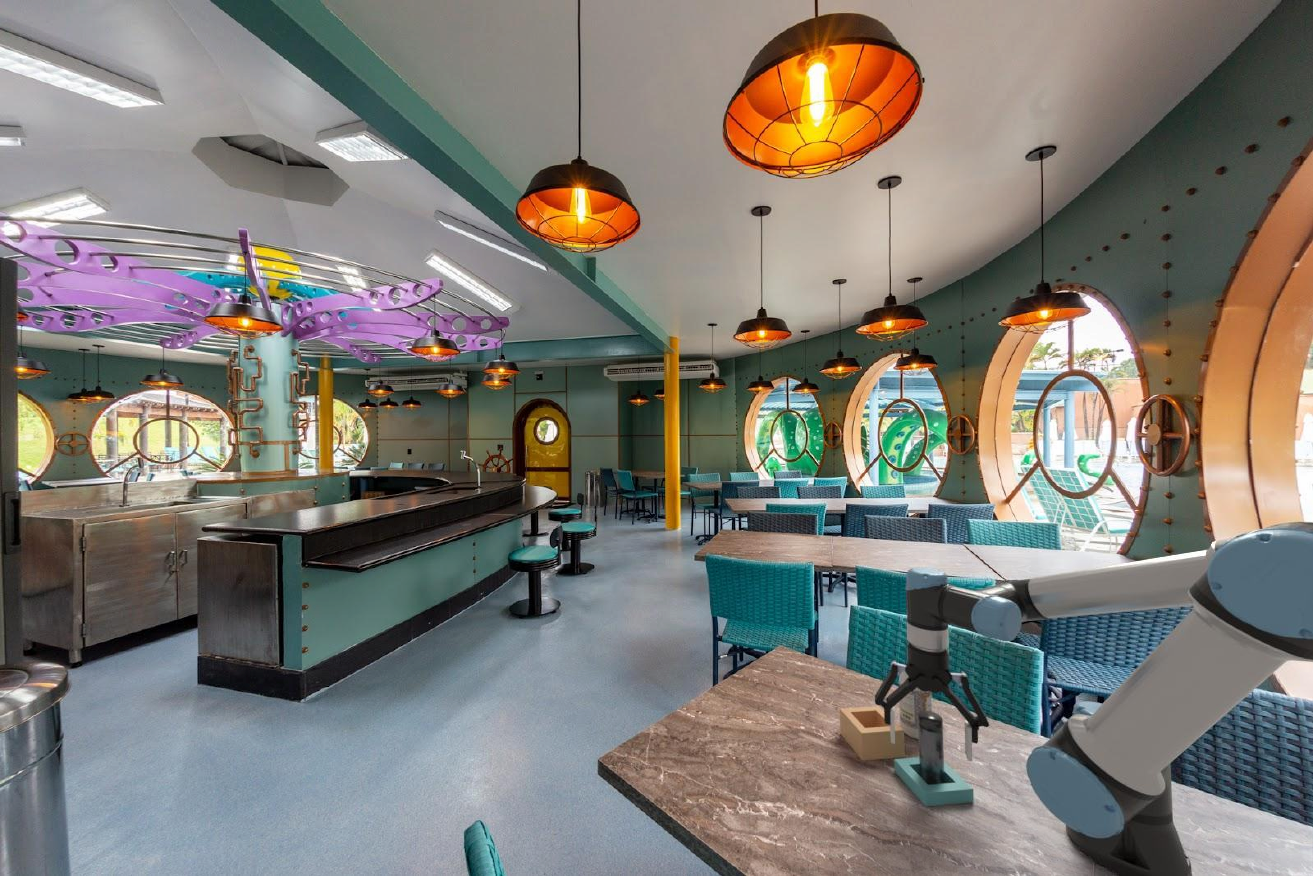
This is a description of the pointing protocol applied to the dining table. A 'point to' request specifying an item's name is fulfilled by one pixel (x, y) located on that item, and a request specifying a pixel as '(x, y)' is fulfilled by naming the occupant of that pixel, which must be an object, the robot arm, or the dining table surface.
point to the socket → (870, 733)
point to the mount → (936, 793)
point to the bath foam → (913, 708)
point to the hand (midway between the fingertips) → (929, 748)
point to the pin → (931, 747)
